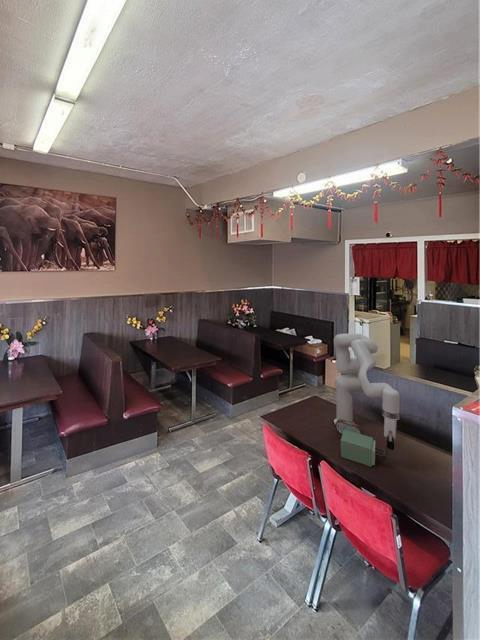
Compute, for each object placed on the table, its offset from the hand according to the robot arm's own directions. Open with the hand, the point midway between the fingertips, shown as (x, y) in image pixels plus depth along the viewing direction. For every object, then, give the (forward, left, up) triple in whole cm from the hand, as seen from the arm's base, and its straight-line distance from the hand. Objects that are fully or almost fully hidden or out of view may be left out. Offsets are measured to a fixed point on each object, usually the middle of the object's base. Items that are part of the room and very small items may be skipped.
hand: (390, 448), depth 158 cm
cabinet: (0, -15, -9) cm, 18 cm away
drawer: (0, -11, -8) cm, 14 cm away
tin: (-18, -21, -9) cm, 29 cm away
